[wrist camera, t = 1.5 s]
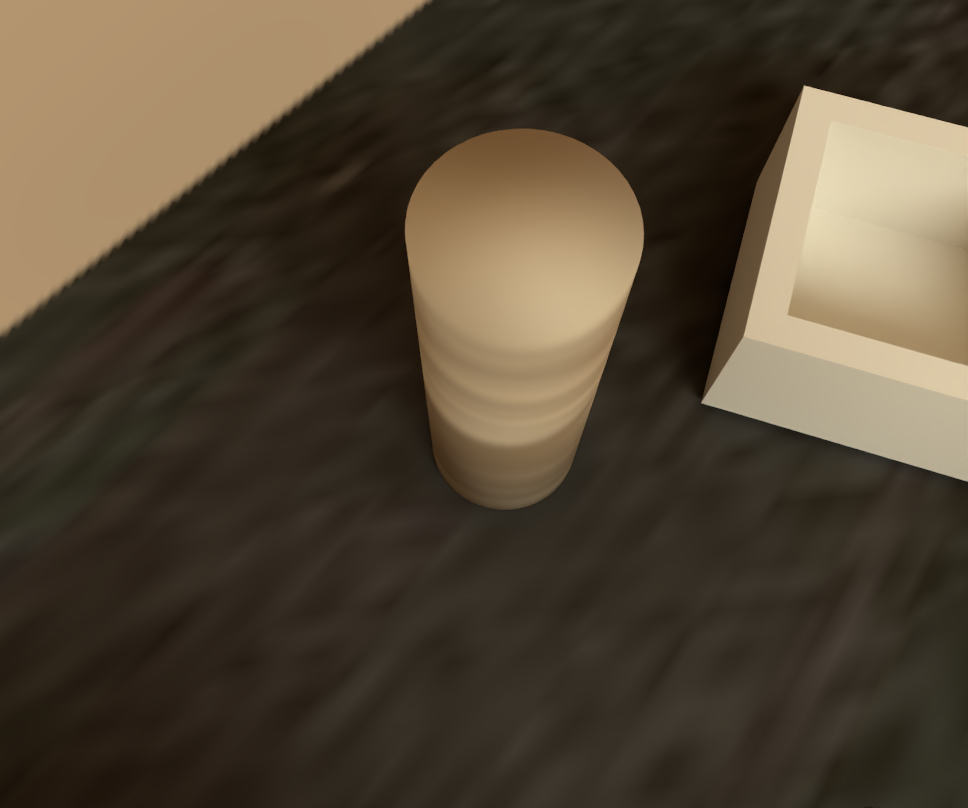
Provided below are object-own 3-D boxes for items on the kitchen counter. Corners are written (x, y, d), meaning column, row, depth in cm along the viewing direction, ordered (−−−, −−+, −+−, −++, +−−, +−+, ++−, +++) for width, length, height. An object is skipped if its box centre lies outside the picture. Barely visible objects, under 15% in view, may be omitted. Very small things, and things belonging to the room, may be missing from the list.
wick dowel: (552, 528, 23) (609, 365, 13) (412, 484, 23) (370, 296, 14) (591, 396, 24) (669, 163, 14) (458, 357, 24) (448, 103, 15)
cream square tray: (976, 484, 23) (1074, 430, 19) (701, 402, 24) (743, 336, 20) (1007, 249, 25) (1099, 161, 22) (756, 181, 26) (804, 85, 22)
